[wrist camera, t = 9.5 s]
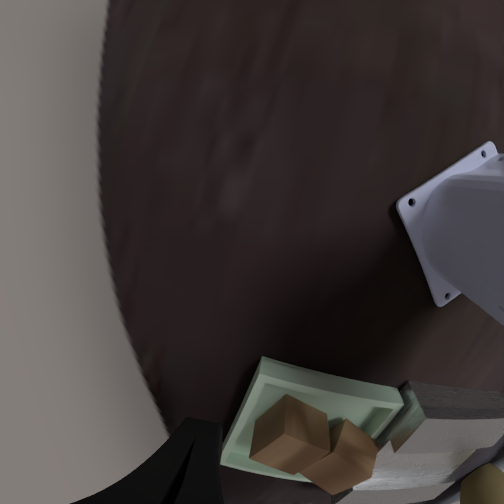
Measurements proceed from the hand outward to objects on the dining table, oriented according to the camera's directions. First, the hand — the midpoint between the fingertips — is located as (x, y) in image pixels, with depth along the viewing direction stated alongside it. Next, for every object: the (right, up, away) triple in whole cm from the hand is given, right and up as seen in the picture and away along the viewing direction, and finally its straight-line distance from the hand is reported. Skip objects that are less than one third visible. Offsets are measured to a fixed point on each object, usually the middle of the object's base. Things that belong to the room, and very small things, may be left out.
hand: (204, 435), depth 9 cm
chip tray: (+6, -7, +11) cm, 14 cm away
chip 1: (+6, -7, +8) cm, 13 cm away
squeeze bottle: (+37, -27, +12) cm, 47 cm away
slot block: (+18, -11, +10) cm, 24 cm away
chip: (+9, -8, +9) cm, 16 cm away
